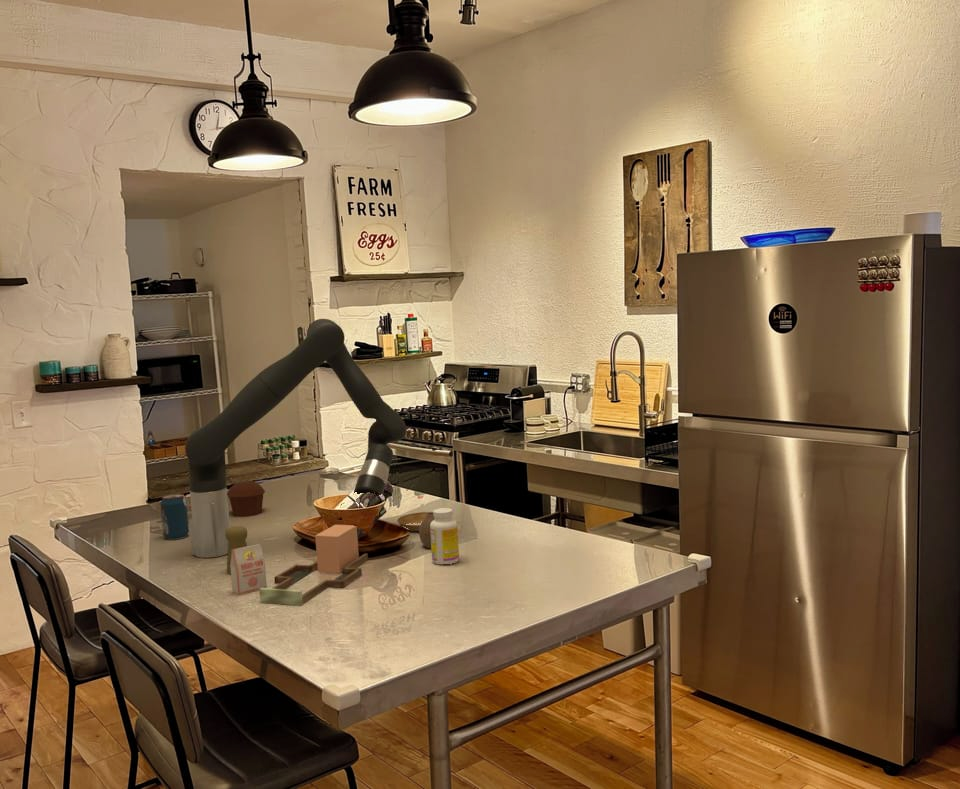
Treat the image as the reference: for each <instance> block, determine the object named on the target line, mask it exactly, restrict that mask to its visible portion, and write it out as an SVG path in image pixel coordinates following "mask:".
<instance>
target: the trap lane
mask: <svg viewBox="0 0 960 789" xmlns="http://www.w3.org/2000/svg"><path fill="white" fill-rule="evenodd" d="M368 560H369V554H368V553H364V554H362V555H359V558H357V559H356V560H354V561H353V562H351V563H350V564H348V565H347V566H345V567H344V568H342V571H343V572H342V574H340V575H338V576H337V577H335V578H334V579H330V578H329V579H328V578H326V579H324V580H323V581H321V582H320V583H319V584H316V585H315V586H314V587H312V588H311V589H309V590H308V591H306V592H305V593H303V591H302V590H299V589H297V590H296V589H287V588H289V587H291V586H292V585H294V584H296V583H297V582H299V581H300V580H302V579H304V578H305V577H306V576H308V575H310V574H311V573H314V572H315V571H317V570H318V567H317V560H316V561H314V562H313V563H311V564H297V563H296V564H294V565H292V566H291V567H289V568H287V569H285V570H284V571H282V572H281V573H278V574H277V575H275V576H274V584H277V585H275V586H273V587H271V588H270V587H267V588H260V589H259V590H258V591H259V599H260V600H259V602H260V603H263V604H264V603H267V604H278V605H279V604H280V605H290V606H291V605H292V606H303V604H305V603H306V602H308V601H310V600H311V599H312V598H314V597H315V596H317V595H318V594H320V593H321V592H323V591H325V590H326V589H327V588H335V589H336V588H338V589H343V588H345V587H347V586H348V585H349V584H351V583H352V582H354V581H355V580H357V579H358V578H360V577H361V576H362V575H363V574H362V572H363V571H362V570H363V569H362V568H360V566H361V565H362V564H364V563H365V562H367V561H368ZM357 567H359V568H357Z"/></svg>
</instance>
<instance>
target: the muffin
mask: <svg viewBox="0 0 960 789" xmlns="http://www.w3.org/2000/svg"><path fill="white" fill-rule="evenodd" d="M265 492H266V491H265V489H264V488H263V487H262V485H260V483H258V482H256V481H253V480H252V481H251V480H242V481H239V482H236V483H234V484H233V485H232V486H231V487H230V488H229V489H228V490H227V498H228V499H229V502H230V503H229V504H230V507H231V510H232V511H231V512H232V514H233V516H234V517H238V518H243V517H252V516H257V515H259V514H262V513H263V502H264V500H263V499H264V494H265Z"/></svg>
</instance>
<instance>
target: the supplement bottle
mask: <svg viewBox="0 0 960 789" xmlns="http://www.w3.org/2000/svg"><path fill="white" fill-rule="evenodd" d="M432 512H433V516H434V517H435V520H433V521H432V522H431V524H430V532H431V548H430V549H431V560H432V563H433V562H434V563H433V564H435V563H436V564H435V565H438V564H450V565H452V564H451V563H454V564H456V563H457V561H458V562H459V560H460V552H459V536H458V535H459V533H458V522H457V521H456V519H454V518H453V514H454V513H453V509H452V508H448V507H441V508H436V509H433V510H432ZM455 562H456V563H455Z"/></svg>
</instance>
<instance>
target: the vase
mask: <svg viewBox="0 0 960 789" xmlns="http://www.w3.org/2000/svg"><path fill="white" fill-rule="evenodd" d="M429 512H430V513H427V515H426V517H425V519H424V520H423V522H422V523H421V526H420V530H419V532H418V535H419V539H420V542H421V544H422V545H423V546H424V547H425V548H427V547H429V548H428V549H431V532H430V524H431V522H432V521H433V520H435V517H434V516H433V511H429Z"/></svg>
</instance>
